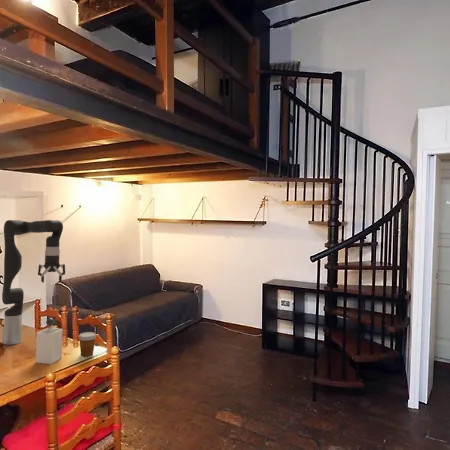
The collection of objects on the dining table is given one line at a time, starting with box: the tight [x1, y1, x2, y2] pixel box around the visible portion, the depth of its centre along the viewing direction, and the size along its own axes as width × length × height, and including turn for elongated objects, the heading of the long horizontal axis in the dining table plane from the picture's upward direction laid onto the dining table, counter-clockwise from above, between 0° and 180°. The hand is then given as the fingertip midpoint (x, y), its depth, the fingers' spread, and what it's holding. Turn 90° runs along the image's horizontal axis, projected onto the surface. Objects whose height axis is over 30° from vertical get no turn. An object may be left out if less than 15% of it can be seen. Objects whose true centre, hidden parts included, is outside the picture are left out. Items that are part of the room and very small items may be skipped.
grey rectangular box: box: [35, 327, 63, 365], centre depth 195 cm, size 9×12×16 cm
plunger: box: [45, 317, 55, 334], centre depth 193 cm, size 7×7×17 cm
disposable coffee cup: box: [78, 331, 97, 358], centre depth 202 cm, size 10×10×12 cm
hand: (51, 282), depth 206 cm, fingers open, 8 cm apart
